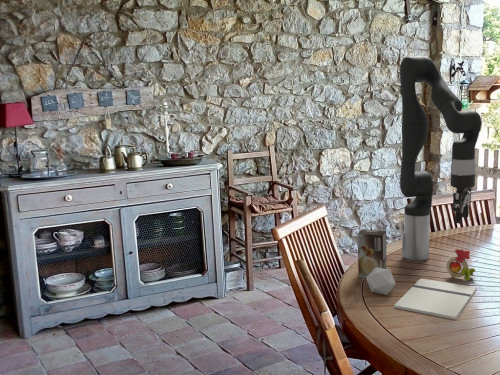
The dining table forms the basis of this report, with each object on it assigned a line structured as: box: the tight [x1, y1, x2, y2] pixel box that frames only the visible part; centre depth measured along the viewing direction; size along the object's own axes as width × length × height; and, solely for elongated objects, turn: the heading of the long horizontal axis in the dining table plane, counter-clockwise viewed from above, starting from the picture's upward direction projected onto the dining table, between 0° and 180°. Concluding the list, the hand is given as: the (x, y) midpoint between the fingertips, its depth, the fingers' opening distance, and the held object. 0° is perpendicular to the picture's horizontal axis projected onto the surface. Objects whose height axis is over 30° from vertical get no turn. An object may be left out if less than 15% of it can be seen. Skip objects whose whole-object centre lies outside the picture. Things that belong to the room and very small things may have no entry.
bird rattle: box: [445, 248, 476, 282], centre depth 188 cm, size 6×11×9 cm
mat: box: [393, 278, 478, 320], centre depth 173 cm, size 18×26×1 cm
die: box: [365, 267, 396, 296], centre depth 179 cm, size 8×9×10 cm
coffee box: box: [357, 228, 388, 279], centre depth 193 cm, size 9×6×16 cm
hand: (461, 220), depth 185 cm, fingers open, 8 cm apart
